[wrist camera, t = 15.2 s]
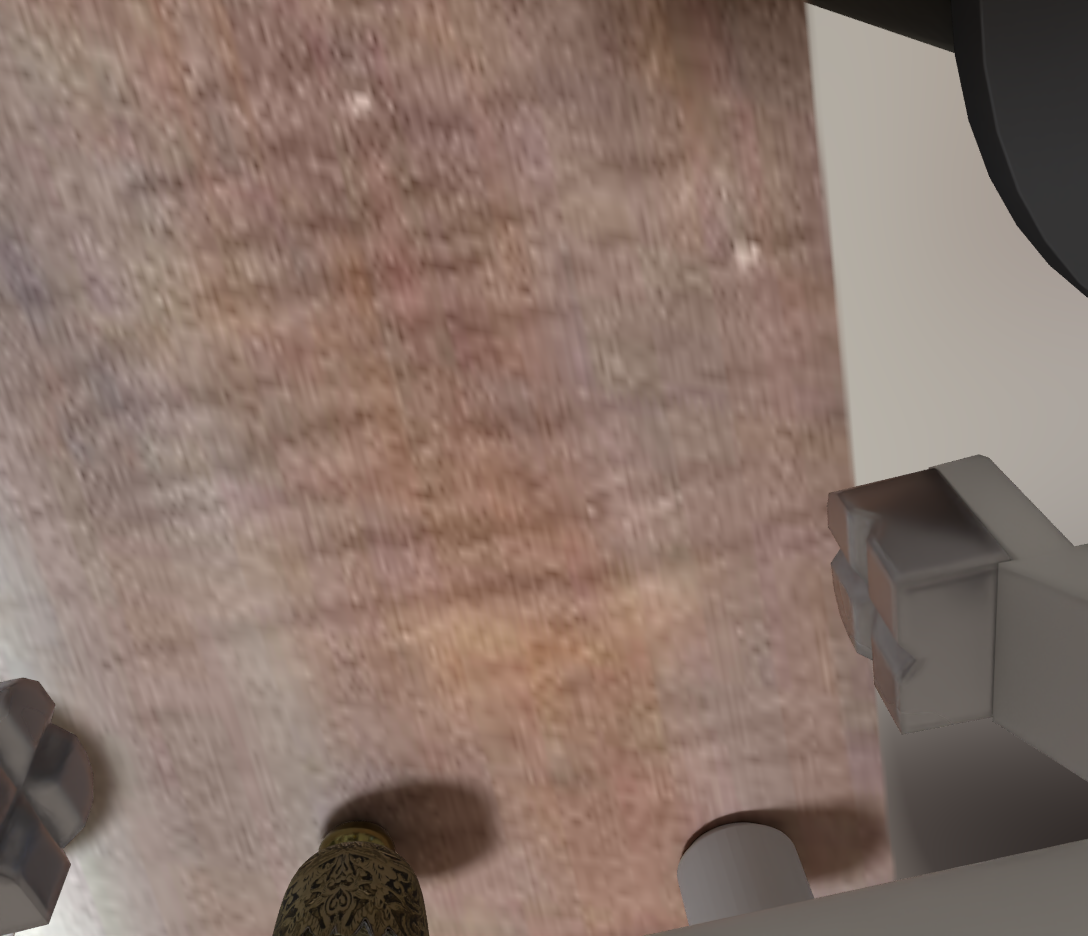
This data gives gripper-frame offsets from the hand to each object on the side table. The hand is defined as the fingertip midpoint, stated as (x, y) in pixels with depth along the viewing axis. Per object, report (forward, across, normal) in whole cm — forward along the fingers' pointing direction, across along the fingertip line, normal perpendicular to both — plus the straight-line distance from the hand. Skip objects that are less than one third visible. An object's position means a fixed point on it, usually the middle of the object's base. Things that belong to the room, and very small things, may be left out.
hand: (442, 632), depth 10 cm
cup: (+26, +13, +32) cm, 44 cm away
